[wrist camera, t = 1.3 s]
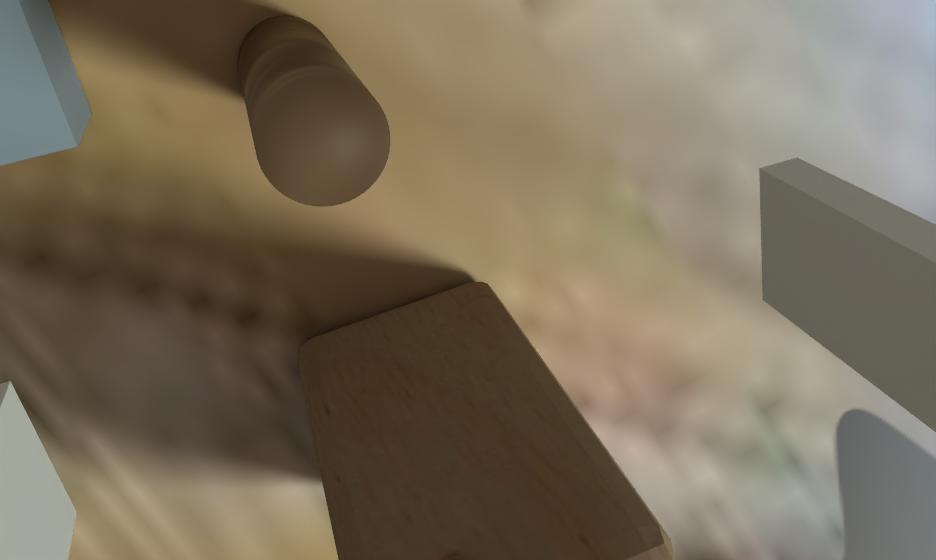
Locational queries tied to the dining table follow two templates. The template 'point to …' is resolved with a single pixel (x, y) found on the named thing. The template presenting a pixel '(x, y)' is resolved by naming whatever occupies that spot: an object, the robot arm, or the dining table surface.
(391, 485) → the wooden block
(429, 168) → the dining table surface
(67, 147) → the socket block
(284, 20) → the walnut peg
